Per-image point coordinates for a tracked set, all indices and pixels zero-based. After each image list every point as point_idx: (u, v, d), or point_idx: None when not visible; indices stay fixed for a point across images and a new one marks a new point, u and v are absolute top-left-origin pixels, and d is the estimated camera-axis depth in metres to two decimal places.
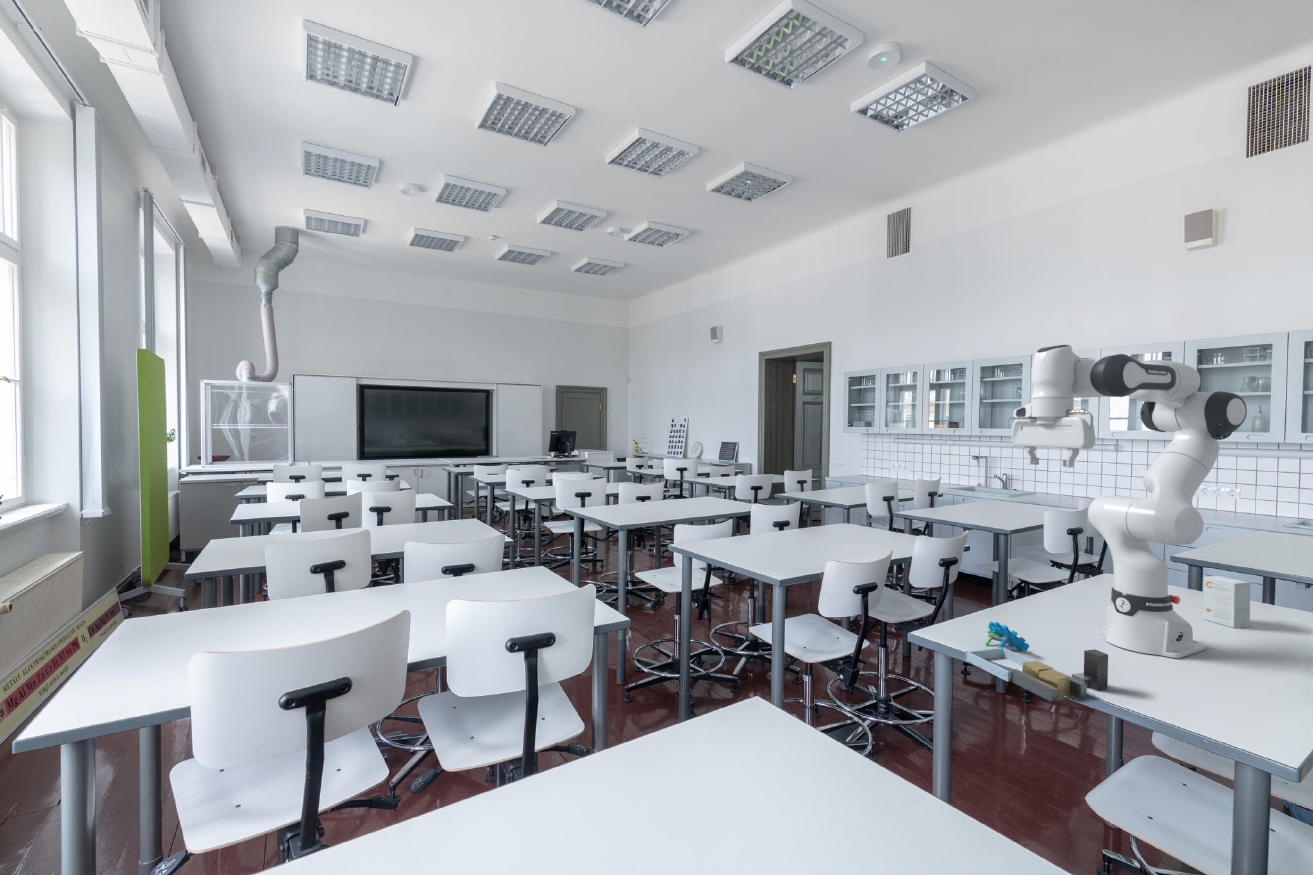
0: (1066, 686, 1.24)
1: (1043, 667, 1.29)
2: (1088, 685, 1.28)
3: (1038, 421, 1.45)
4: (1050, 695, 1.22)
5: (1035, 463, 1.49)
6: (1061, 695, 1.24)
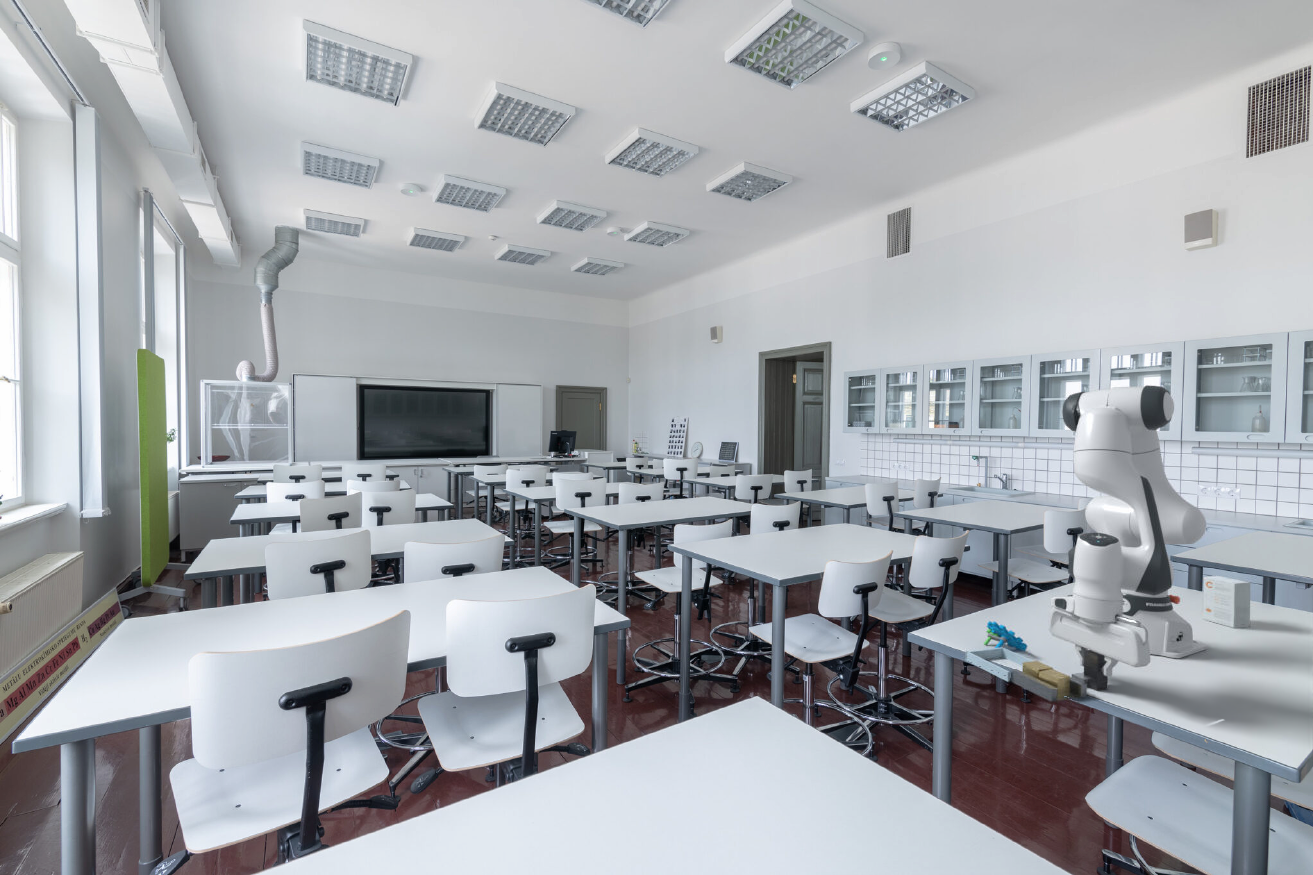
0: (1066, 686, 1.24)
1: (1043, 667, 1.29)
2: (1088, 685, 1.28)
3: (1081, 620, 1.28)
4: (1050, 695, 1.22)
5: None
6: (1061, 695, 1.24)
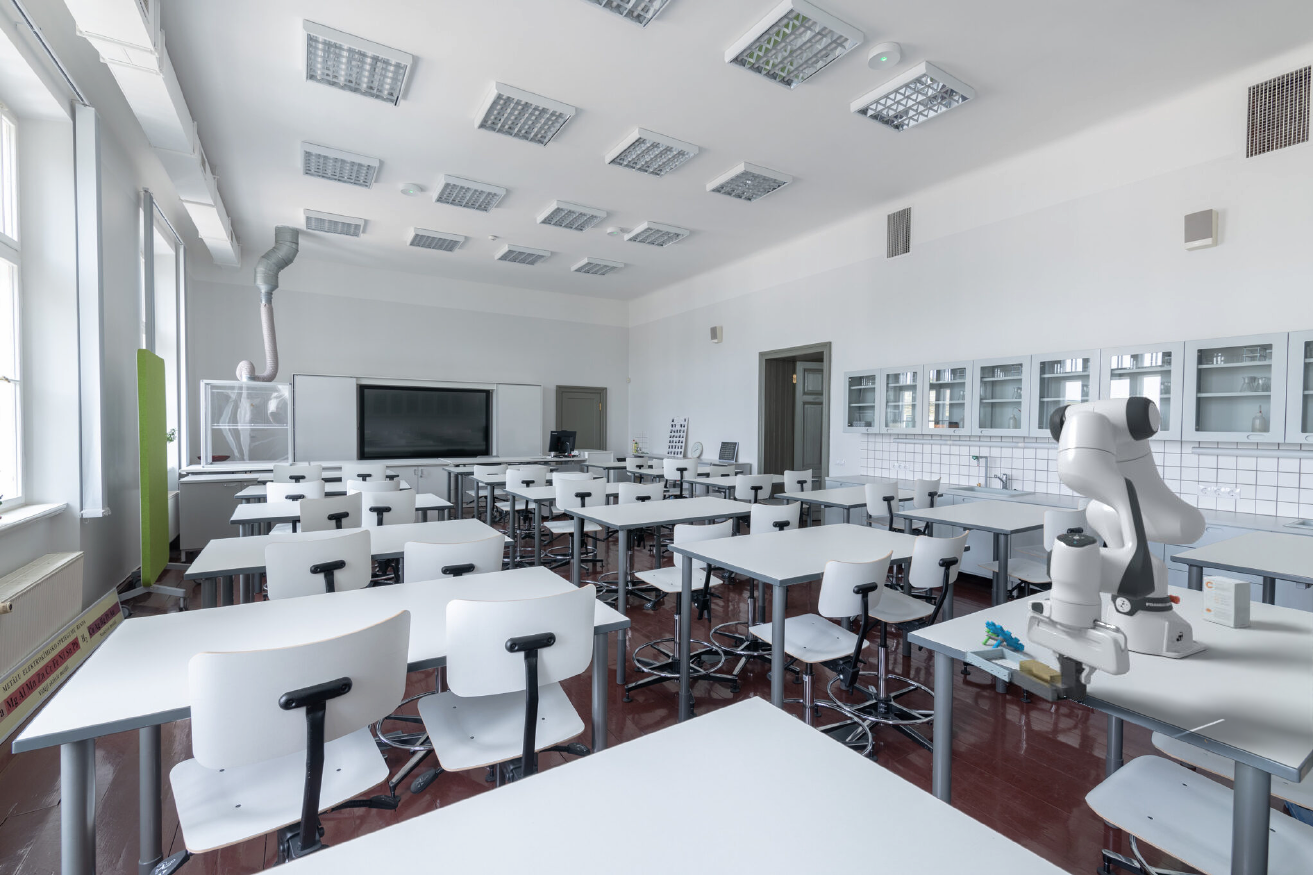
0: None
1: (1040, 665, 1.30)
2: (1066, 694, 1.22)
3: (1059, 625, 1.22)
4: (1050, 695, 1.22)
5: None
6: None
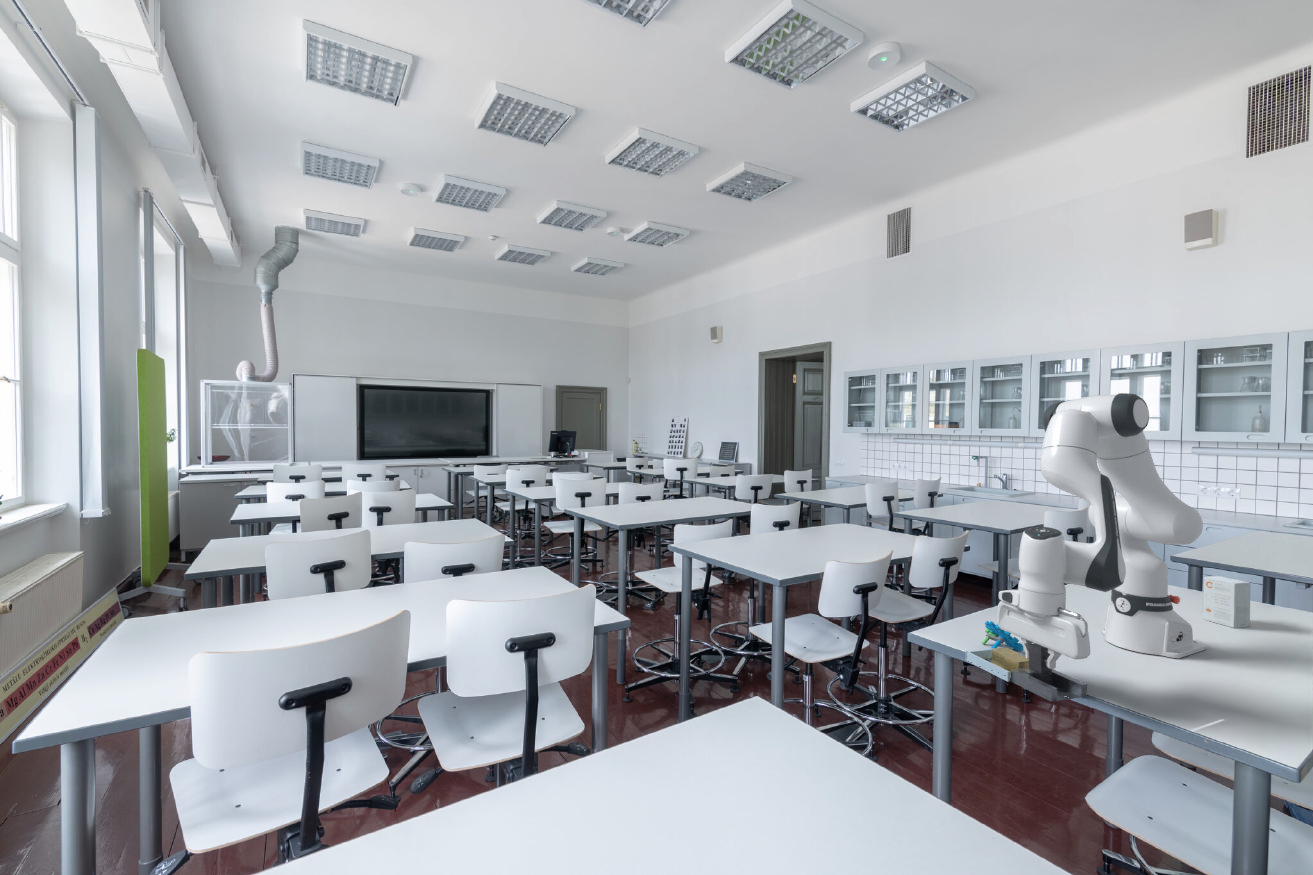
0: None
1: (1011, 653, 1.37)
2: None
3: (1026, 613, 1.29)
4: (1050, 695, 1.22)
5: None
6: None
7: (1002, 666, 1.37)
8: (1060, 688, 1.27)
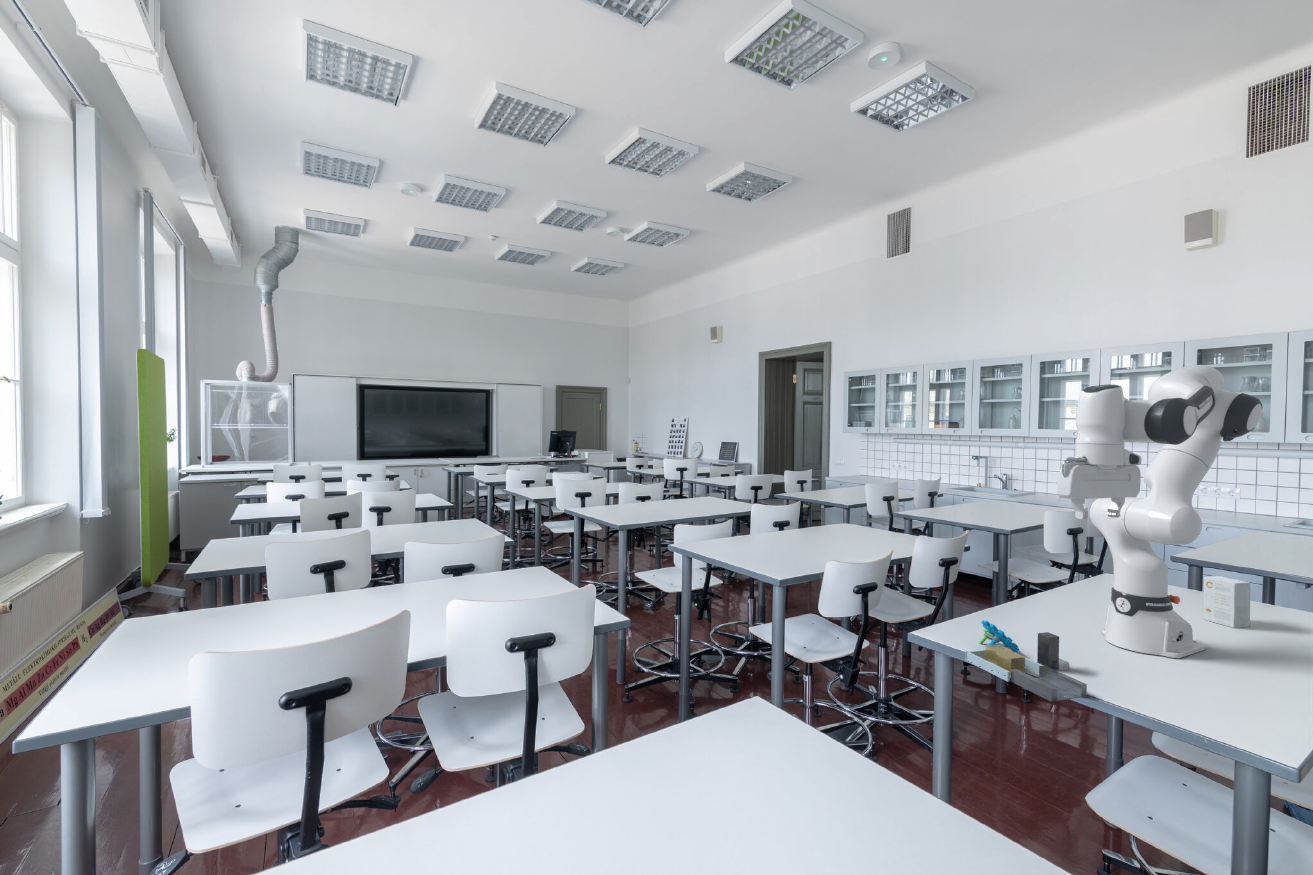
0: (1021, 666, 1.35)
1: (1004, 650, 1.39)
2: None
3: None
4: (1050, 695, 1.22)
5: (1110, 515, 1.33)
6: None
7: (995, 663, 1.39)
8: (1060, 688, 1.27)
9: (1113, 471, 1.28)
